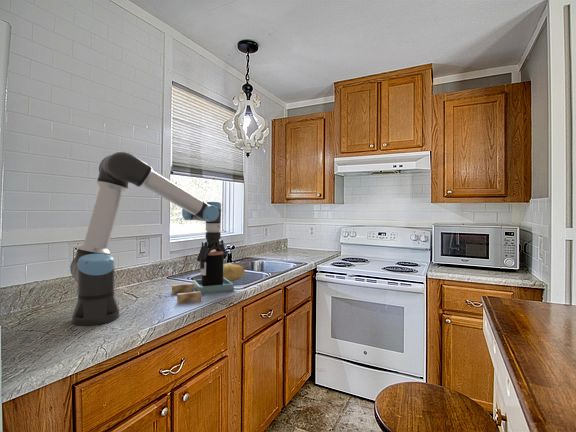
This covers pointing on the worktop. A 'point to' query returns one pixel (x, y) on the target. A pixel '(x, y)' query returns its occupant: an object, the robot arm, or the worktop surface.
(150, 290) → the worktop surface
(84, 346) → the worktop surface
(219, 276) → the coffee jar
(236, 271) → the potato
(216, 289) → the bin
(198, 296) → the oak cradle
